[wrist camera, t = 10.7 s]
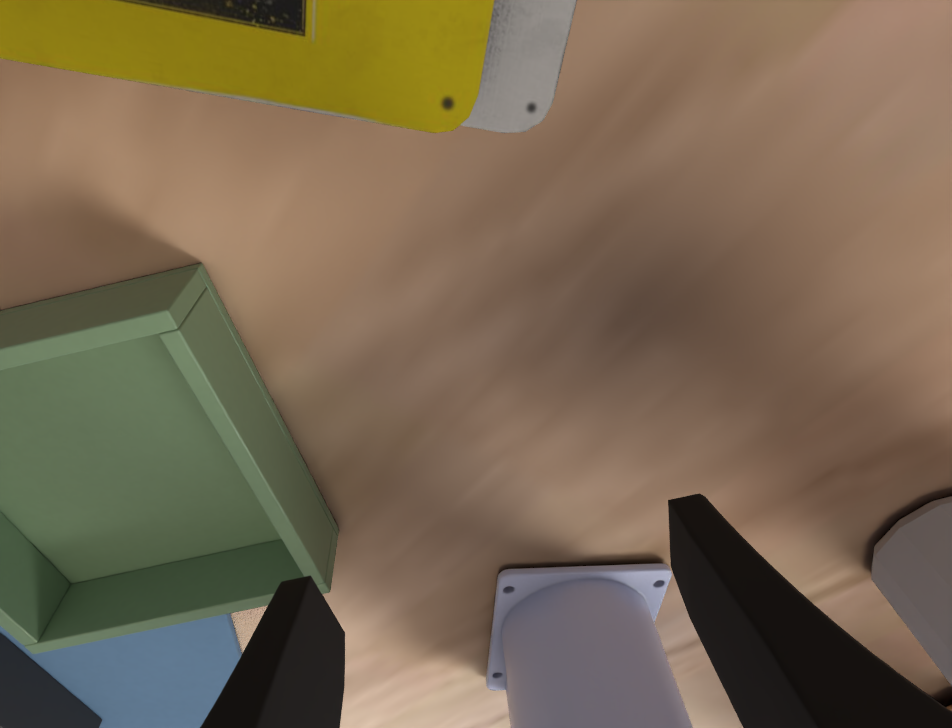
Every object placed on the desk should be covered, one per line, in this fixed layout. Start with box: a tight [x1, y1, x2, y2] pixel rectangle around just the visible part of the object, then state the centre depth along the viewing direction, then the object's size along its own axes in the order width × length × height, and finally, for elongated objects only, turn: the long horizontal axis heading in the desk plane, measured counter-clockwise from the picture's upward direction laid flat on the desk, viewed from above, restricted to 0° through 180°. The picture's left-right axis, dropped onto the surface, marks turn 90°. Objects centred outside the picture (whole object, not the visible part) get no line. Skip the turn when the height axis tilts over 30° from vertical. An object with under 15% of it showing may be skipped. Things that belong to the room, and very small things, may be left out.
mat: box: [0, 613, 242, 728], centre depth 29 cm, size 14×22×1 cm, turn 87°
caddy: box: [0, 263, 339, 654], centre depth 20 cm, size 12×12×3 cm
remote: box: [0, 633, 102, 728], centre depth 26 cm, size 8×3×3 cm, turn 12°
